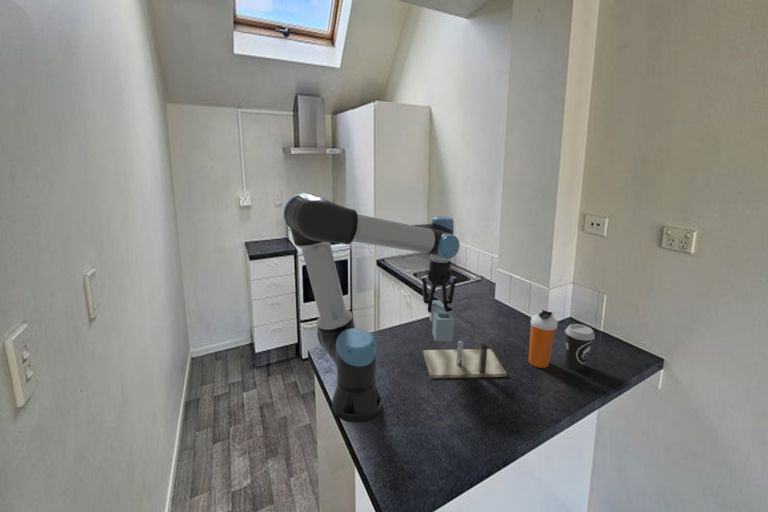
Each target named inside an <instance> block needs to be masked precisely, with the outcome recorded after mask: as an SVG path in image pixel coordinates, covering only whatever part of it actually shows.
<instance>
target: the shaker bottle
mask: <svg viewBox="0 0 768 512" xmlns="http://www.w3.org/2000/svg"><path fill="white" fill-rule="evenodd" d="M557 328H558V321H557V319H556V318H555V317H554V313H553V312H552V311H548V310H544V309H543V310H542V309H540V312H539V313H537V314H534V315H533V316H532V317H530V334H529V335H530V336H529V349H528V350H529V351H528V363H529V364H530V365H531V366H533V367H536V368H539V369H540V368H542V369H544V368H548V367H549V364H550V360H551V355H552V350H553V346H554V342H555V335H556V331H557Z"/></svg>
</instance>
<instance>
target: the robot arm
mask: <svg viewBox="0 0 768 512" xmlns="http://www.w3.org/2000/svg"><path fill="white" fill-rule="evenodd" d="M283 218H284V222H285V224H286V225H287V226H288V227H289V228H290V232H291V235H292V236H291V237H292V240H293V242H294V245H295V247H298V248H299V249H300V250H301V251H302V255H303V260H304V264H305V267H306V270H307V275H308V278H309V282H310V285H311V288H312V293H313V295H314V300H315V303H316V307H317V311H318V316H319V317H318V318H317V320H316V326H317V329H316V335H317V339H318V342H319V345H320V346H321V348H322V349H324V350H325V352H326V353H327V354H328V356H329V357H330V358H331V360H332V361H333V363H334V364H335V366H336V371H337V372H336V374H337V375H336V377H337V379H336V380H337V385H336V388H335V390H334V394H333V397H332V402H331V403H332V405H331V406H332V411H333V413H334V415H335V416H336V417H337V418H339V419H340V420H342V421H345V422H349V423H363V422H366V421H370V420H372V419H373V418H375V417H376V416H377V415H378V414H379V413H380V412H381V410H382V404H383V403H382V395H381V393H380V390H379V387H378V384H377V352H378V350H377V349H378V348H377V343H376V338H375V337H374V335H373V334H372V333H370V332H369V331H368V330H366V329H363V330H362V329H361V328H356V325H355V321H354V317H353V313H352V312H351V311H350V310H348V309H347V308H346V304H345V299H344V296H343V291H342V288H341V283H340V277H339V274H338V270H337V266H336V265H337V264H336V262H335V258H334V254H333V250H332V244H331V243H333V244H341V245H351V244H352V243H360V244H366V245H372V246H377V247H384V248H390V249H391V248H392V249H397V250H398V249H399V250H403V251H409V252H410V251H411V252H417V253H423V254H427V255H429V259H430V260H429V267H428V273H427V274H426V275H421V277H420V279H421V282H422V297H423V298H422V300H423V302H424V304H427V312H428V314H429V320H430V322H431V323H432V322H433V312H434V304H433V303H432V302H433V300H434V297H435V293H436V289H437V286H440V287H441V299H442V300H441V301H442V302H441V303H442V305H443V306H444V308H445V310H446V311H447V307H448V305H451V304H452V303H453V299H454V294H455V293H454V292H455V287H456V284H457V282H458V278H457V276H456V275H454V276H453V275H452V274H451V267H452V263H451V260H452V258H454V257H455V256H456V255H457V254H458V252H459V251H460V250H459V249H460V240H459V238H458V237H457V236H456V235H454V227H455V225H454V219H453V218H451V217H449V216H434V217H432V221H431V223H427V224H426V223H425V224H408V223H407V224H406V223H402V222H397V221H393V220H388V219H383V218H377V217H374V216H369V215H362V214H359V213H358V211H357V210H356V209H354V208H353V209H352V208H350V207H349V208H348V207H344V206H343V205H341V204H337V203H334V202H333V201H330V200H329V199H326V198H324V197H320V196H317V195H316V194H313V193H308V192H305V193H304V192H303V193H297V194H295V195H293V196H292V197H291V198H290V199H288V201H287V202H286V203H285V205H284V209H283ZM429 280H430V282H431V285H430V289H429V293H428V284H427V283H428V281H429ZM448 281H449V282H450V283H449V288H448V295H447V282H448ZM428 294H429V295H428Z"/></svg>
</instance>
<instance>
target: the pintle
mask: <svg viewBox="0 0 768 512" xmlns="http://www.w3.org/2000/svg"><path fill="white" fill-rule="evenodd" d="M463 349H464V341H463V340H458V341H457V348H456V350H457V361H456V365H457V366H459V367H460V366H462V356H463Z"/></svg>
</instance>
